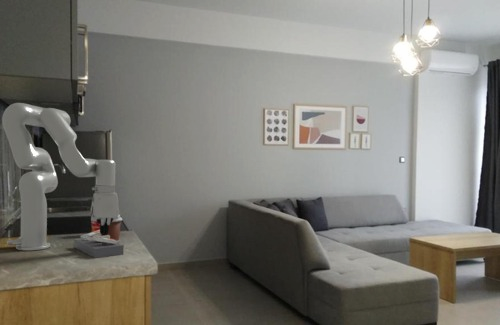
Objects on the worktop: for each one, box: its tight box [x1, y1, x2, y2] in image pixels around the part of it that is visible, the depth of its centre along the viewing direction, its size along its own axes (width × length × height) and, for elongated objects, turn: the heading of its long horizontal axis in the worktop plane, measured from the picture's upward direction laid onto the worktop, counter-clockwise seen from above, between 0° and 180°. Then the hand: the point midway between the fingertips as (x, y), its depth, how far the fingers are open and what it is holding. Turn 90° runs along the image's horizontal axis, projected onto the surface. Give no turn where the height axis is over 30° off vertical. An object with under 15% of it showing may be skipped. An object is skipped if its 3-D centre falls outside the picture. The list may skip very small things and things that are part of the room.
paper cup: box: [90, 208, 100, 232], centre depth 203 cm, size 8×8×14 cm
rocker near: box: [93, 236, 118, 244], centre depth 162 cm, size 8×4×1 cm, turn 130°
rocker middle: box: [86, 235, 110, 241], centre depth 168 cm, size 8×4×1 cm, turn 130°
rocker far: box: [80, 230, 101, 240], centre depth 173 cm, size 8×4×1 cm, turn 131°
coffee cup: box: [104, 214, 123, 243], centre depth 188 cm, size 9×9×12 cm
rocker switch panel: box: [73, 238, 125, 259], centre depth 168 cm, size 11×24×4 cm, turn 40°
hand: (104, 234), depth 170 cm, fingers closed
